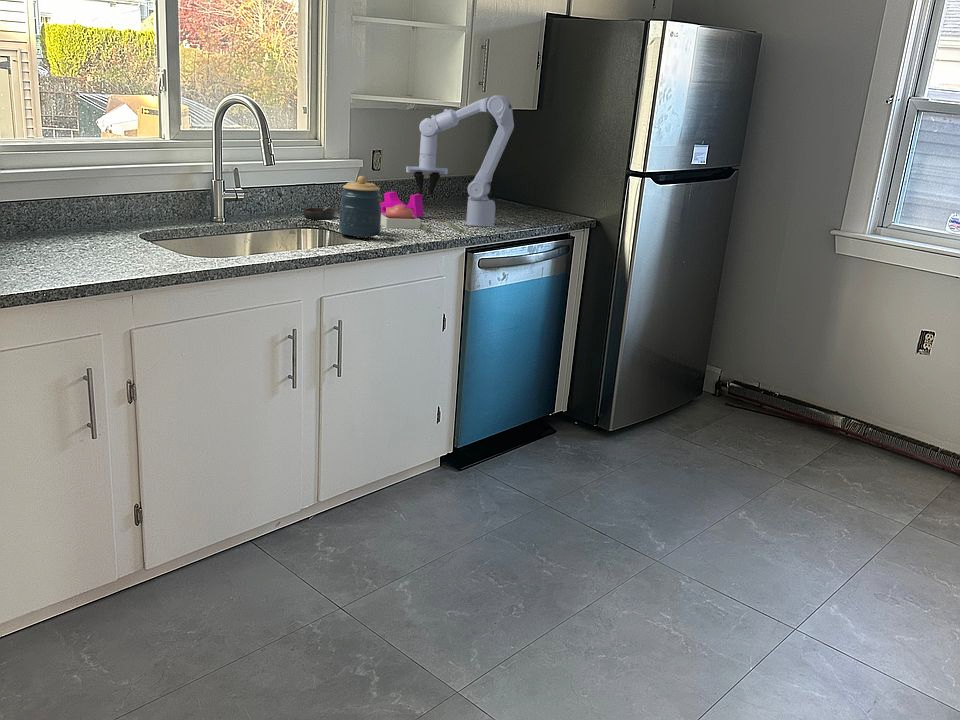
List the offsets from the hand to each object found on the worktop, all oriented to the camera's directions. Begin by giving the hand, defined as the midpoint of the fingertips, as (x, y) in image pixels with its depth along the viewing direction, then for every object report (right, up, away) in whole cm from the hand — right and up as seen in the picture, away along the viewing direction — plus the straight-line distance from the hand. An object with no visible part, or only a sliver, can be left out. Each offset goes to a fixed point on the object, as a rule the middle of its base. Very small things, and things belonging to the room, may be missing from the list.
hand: (425, 194), depth 308 cm
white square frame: (-8, -13, -12) cm, 20 cm away
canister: (-18, -19, -35) cm, 43 cm away
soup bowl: (-36, -12, -8) cm, 39 cm away
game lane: (+2, -11, -4) cm, 12 cm away
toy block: (-9, -7, +6) cm, 12 cm away
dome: (-8, -13, -12) cm, 20 cm away
